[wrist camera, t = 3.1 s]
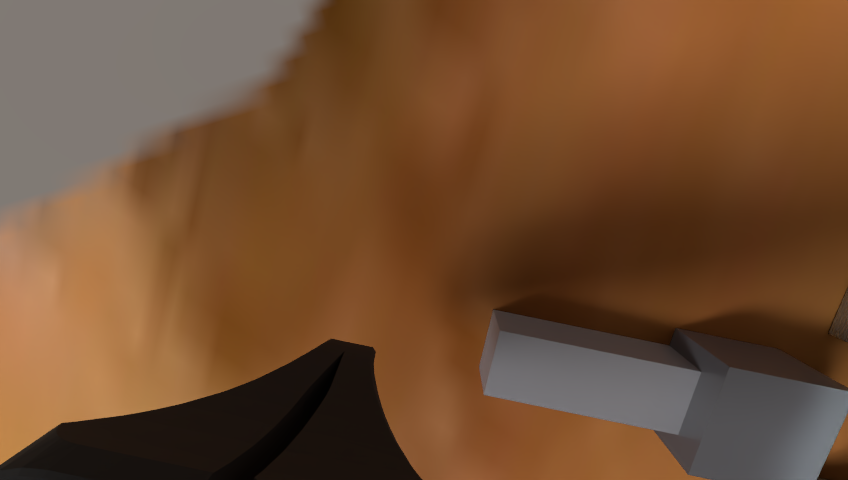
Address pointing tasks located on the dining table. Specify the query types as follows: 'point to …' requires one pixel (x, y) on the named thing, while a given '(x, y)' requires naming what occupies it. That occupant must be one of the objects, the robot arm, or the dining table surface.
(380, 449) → the robot arm
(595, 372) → the plug
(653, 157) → the dining table surface
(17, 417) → the dining table surface
